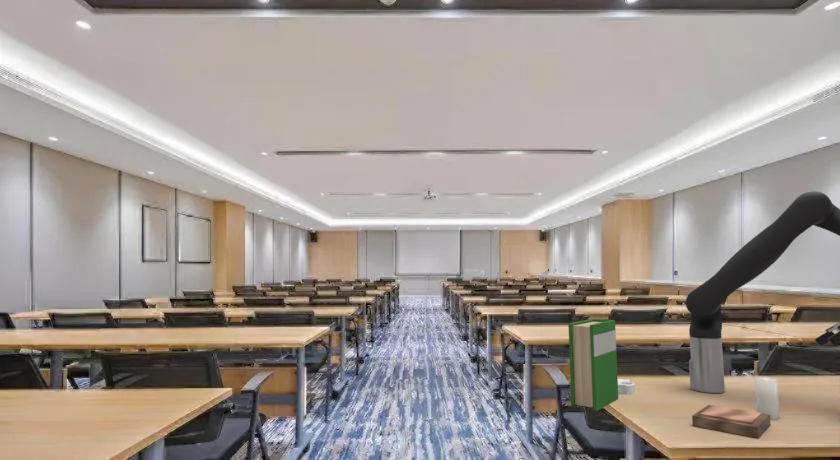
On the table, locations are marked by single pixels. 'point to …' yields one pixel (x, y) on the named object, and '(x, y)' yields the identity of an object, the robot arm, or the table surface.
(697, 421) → the walnut base
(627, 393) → the white brass knuckles
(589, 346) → the hardback book
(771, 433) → the table surface
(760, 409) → the ceramic cylinder
